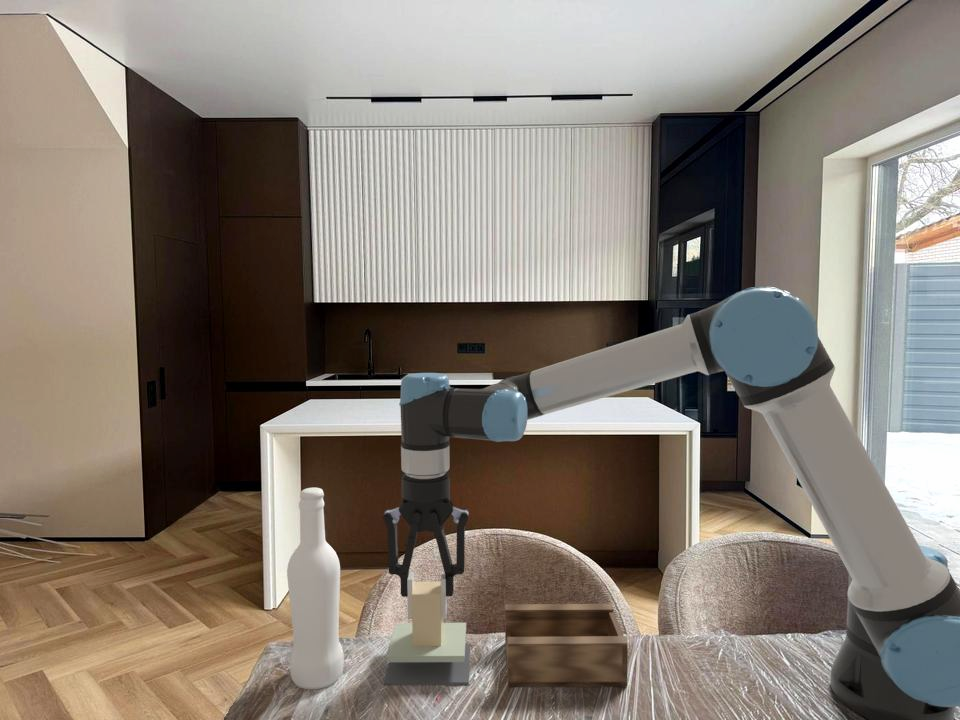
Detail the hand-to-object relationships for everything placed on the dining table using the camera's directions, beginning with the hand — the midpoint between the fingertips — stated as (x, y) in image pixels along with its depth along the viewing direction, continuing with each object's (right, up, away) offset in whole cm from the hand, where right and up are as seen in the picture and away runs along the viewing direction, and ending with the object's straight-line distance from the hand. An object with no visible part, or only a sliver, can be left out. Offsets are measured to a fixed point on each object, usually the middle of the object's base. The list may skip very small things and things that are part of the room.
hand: (427, 614), depth 102 cm
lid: (0, -5, +1) cm, 5 cm away
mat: (0, -8, +1) cm, 8 cm away
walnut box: (+22, -8, +1) cm, 23 cm away
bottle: (-17, -9, -2) cm, 19 cm away
